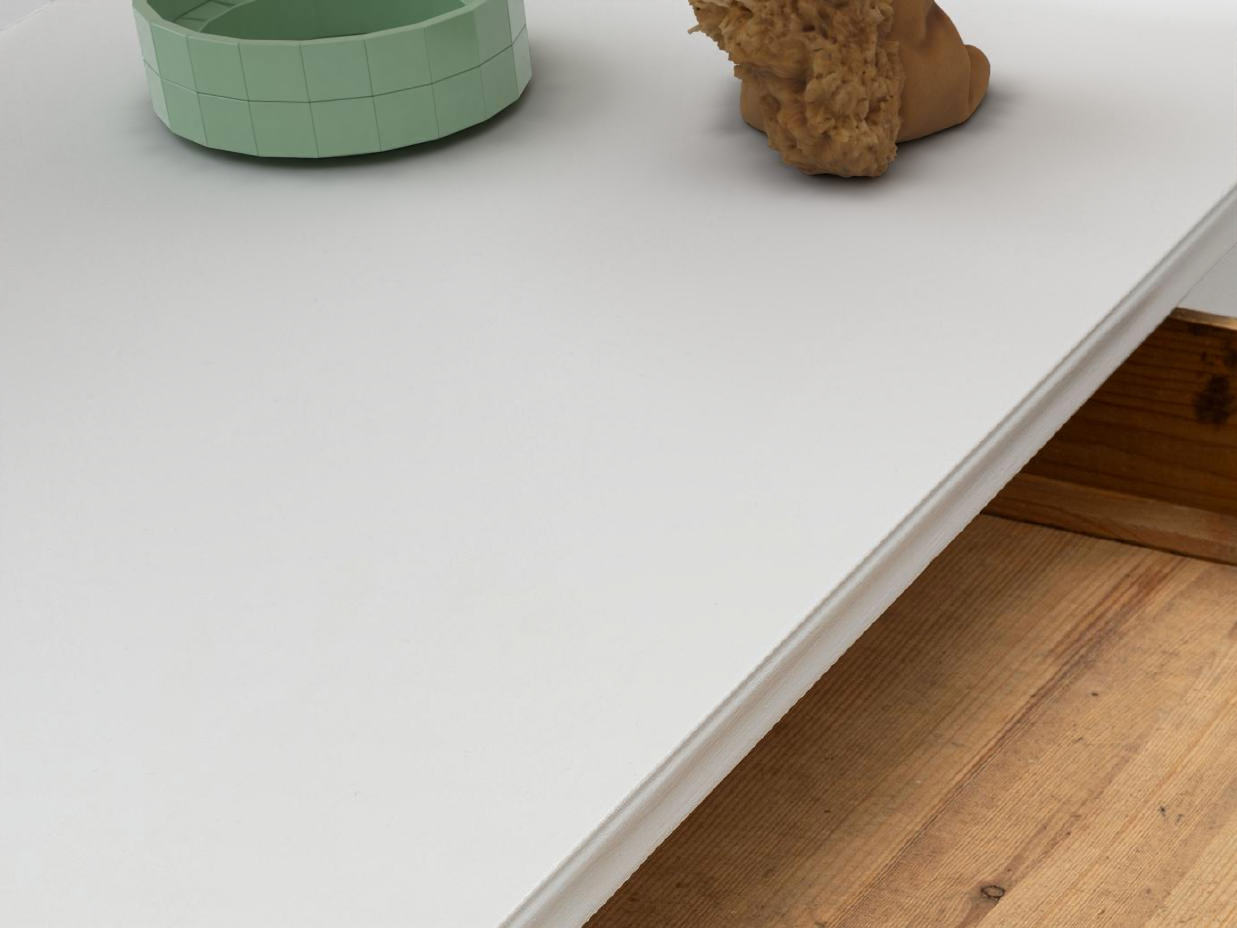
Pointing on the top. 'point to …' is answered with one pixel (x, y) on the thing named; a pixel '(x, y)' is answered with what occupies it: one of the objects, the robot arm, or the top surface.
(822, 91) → the stuffed squirrel
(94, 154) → the top surface
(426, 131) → the bowl
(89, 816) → the top surface
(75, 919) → the top surface
